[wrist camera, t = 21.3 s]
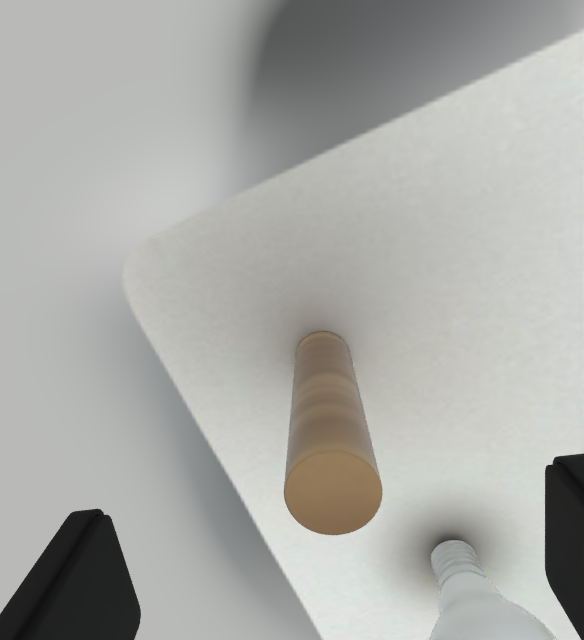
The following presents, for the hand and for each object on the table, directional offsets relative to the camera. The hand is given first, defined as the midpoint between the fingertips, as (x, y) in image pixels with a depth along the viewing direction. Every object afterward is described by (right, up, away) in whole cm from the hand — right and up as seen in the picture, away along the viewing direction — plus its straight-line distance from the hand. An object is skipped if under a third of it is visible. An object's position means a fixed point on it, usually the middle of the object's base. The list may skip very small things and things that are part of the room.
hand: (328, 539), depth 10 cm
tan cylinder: (+1, +3, +16) cm, 16 cm away
